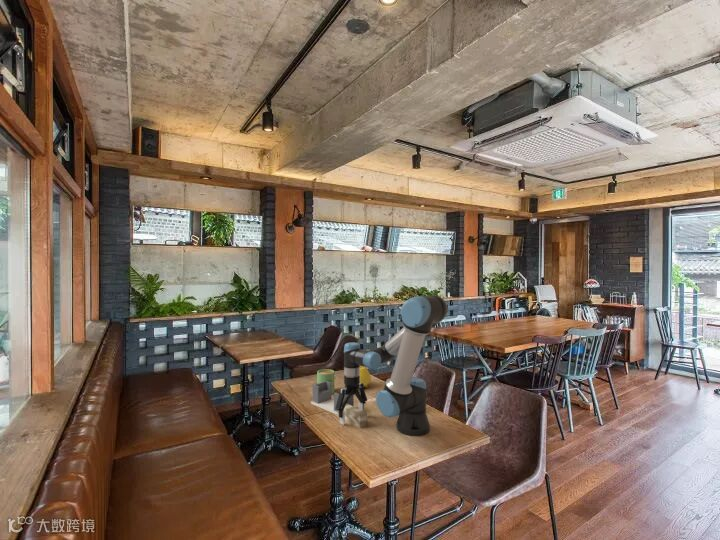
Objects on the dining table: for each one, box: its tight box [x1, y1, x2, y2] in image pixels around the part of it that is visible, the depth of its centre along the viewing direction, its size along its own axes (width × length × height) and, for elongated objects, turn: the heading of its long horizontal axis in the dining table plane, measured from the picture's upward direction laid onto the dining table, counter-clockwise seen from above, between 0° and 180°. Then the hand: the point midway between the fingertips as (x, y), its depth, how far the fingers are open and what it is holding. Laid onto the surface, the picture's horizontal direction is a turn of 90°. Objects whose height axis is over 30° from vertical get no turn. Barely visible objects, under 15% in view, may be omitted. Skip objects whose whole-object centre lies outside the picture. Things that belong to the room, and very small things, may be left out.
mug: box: [316, 368, 335, 395], centre depth 223 cm, size 13×10×12 cm
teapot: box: [358, 366, 372, 390], centre depth 234 cm, size 20×16×14 cm
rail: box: [337, 403, 368, 429], centre depth 182 cm, size 17×4×6 cm, turn 40°
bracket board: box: [310, 381, 355, 416], centre depth 199 cm, size 23×11×10 cm, turn 45°
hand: (351, 420), depth 182 cm, fingers open, 12 cm apart
